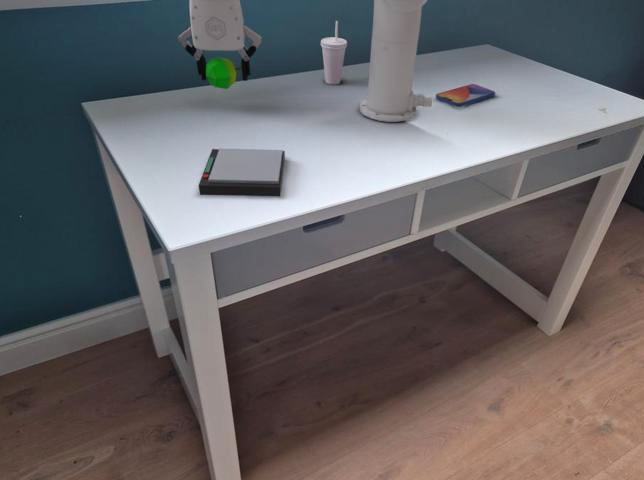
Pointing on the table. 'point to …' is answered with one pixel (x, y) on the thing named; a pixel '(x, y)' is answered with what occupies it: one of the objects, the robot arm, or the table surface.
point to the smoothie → (333, 57)
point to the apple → (221, 72)
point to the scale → (243, 172)
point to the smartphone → (465, 95)
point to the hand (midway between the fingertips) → (225, 78)
